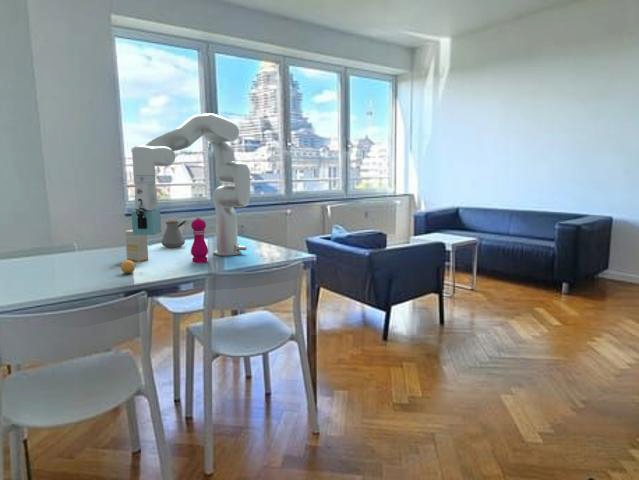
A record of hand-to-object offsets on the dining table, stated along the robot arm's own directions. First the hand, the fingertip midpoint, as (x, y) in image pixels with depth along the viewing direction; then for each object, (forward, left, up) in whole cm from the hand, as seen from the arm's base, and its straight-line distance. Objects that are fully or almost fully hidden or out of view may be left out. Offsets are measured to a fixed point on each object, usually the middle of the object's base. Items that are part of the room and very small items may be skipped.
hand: (147, 226), depth 174 cm
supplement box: (+16, -24, -18) cm, 34 cm away
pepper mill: (-12, -23, -18) cm, 32 cm away
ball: (+8, 0, -16) cm, 18 cm away
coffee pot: (+9, -53, -18) cm, 57 cm away
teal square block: (0, 0, -3) cm, 3 cm away
